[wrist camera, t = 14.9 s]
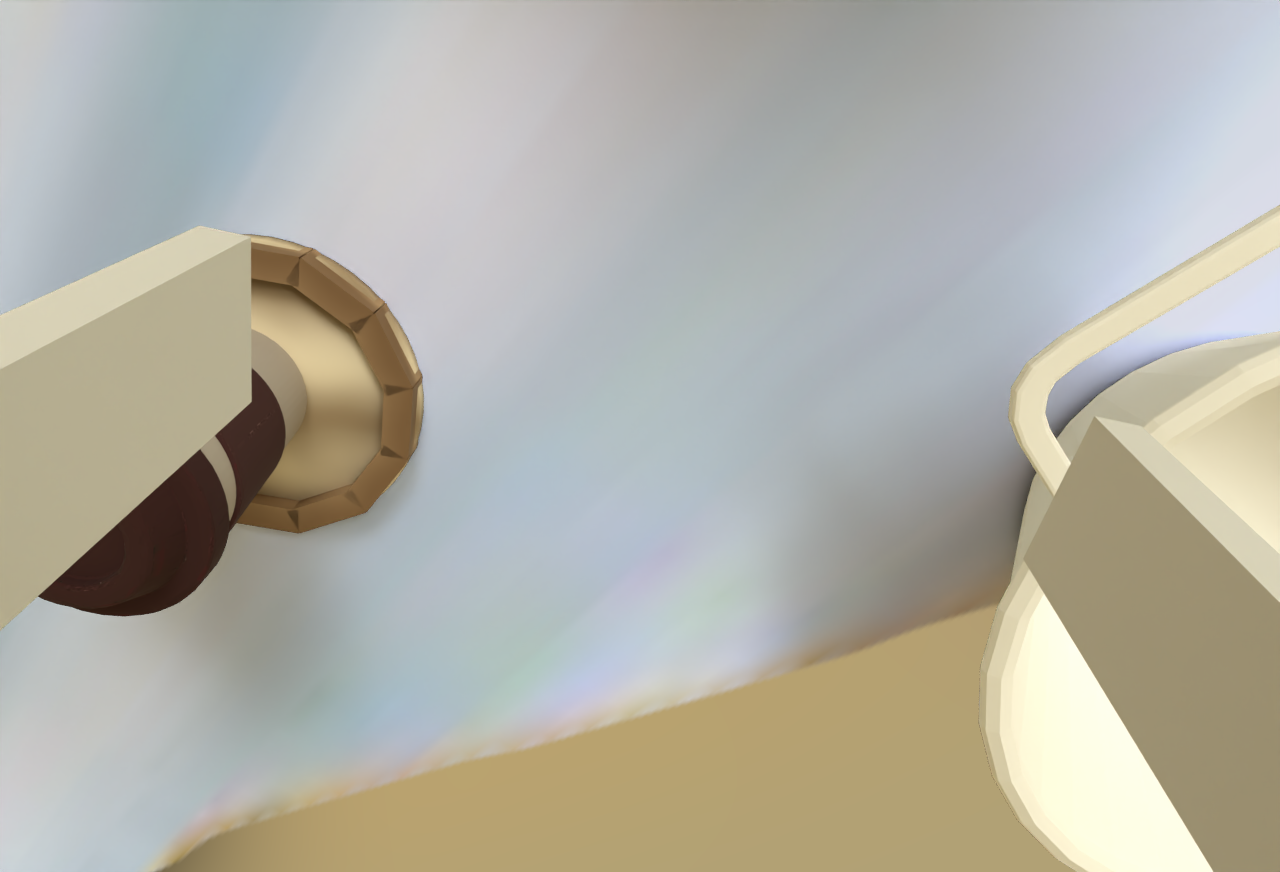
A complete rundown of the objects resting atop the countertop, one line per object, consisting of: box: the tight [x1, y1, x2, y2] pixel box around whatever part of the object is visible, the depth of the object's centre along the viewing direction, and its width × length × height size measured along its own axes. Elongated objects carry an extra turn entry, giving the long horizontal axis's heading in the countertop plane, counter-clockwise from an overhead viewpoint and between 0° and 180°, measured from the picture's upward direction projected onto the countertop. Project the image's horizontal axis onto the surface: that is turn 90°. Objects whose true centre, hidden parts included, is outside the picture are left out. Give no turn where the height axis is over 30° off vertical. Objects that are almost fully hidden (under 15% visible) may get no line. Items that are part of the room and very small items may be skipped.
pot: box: [979, 205, 1280, 872], centre depth 41 cm, size 40×32×14 cm
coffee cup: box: [38, 329, 307, 616], centre depth 39 cm, size 10×10×15 cm
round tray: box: [236, 234, 424, 533], centre depth 45 cm, size 16×16×2 cm
